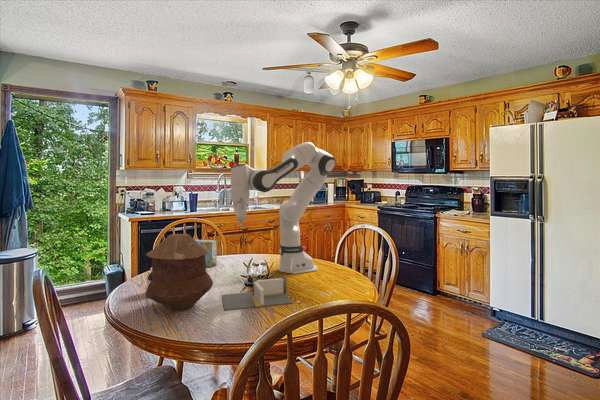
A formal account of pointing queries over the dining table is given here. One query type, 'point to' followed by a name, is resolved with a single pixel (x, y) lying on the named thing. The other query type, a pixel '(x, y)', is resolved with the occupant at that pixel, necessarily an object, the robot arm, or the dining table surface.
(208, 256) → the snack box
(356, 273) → the dining table surface
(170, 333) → the dining table surface
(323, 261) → the dining table surface
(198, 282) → the pottery vessel
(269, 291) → the block
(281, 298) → the card
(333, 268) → the dining table surface
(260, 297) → the hinged panel
